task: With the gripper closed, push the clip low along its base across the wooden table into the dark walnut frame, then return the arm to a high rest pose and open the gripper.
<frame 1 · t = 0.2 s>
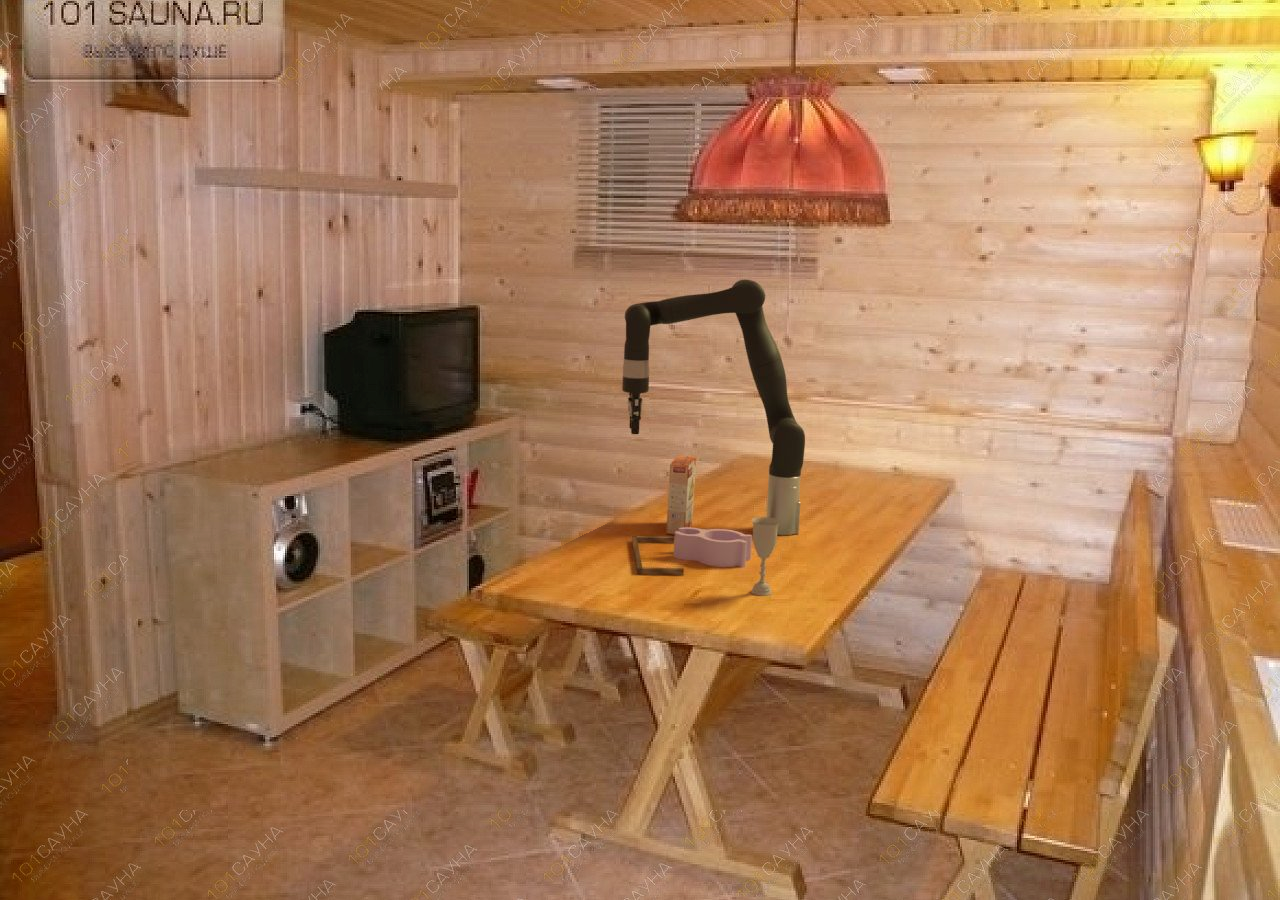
hand: (634, 431, 310), 29 cm above the table, tool pointing down, fingers open, 8 cm apart
chalice: (761, 592, 265), on the table
walnut frame: (682, 557, 290), on the table
cracker box: (679, 530, 318), on the table
clip: (711, 559, 291), on the table
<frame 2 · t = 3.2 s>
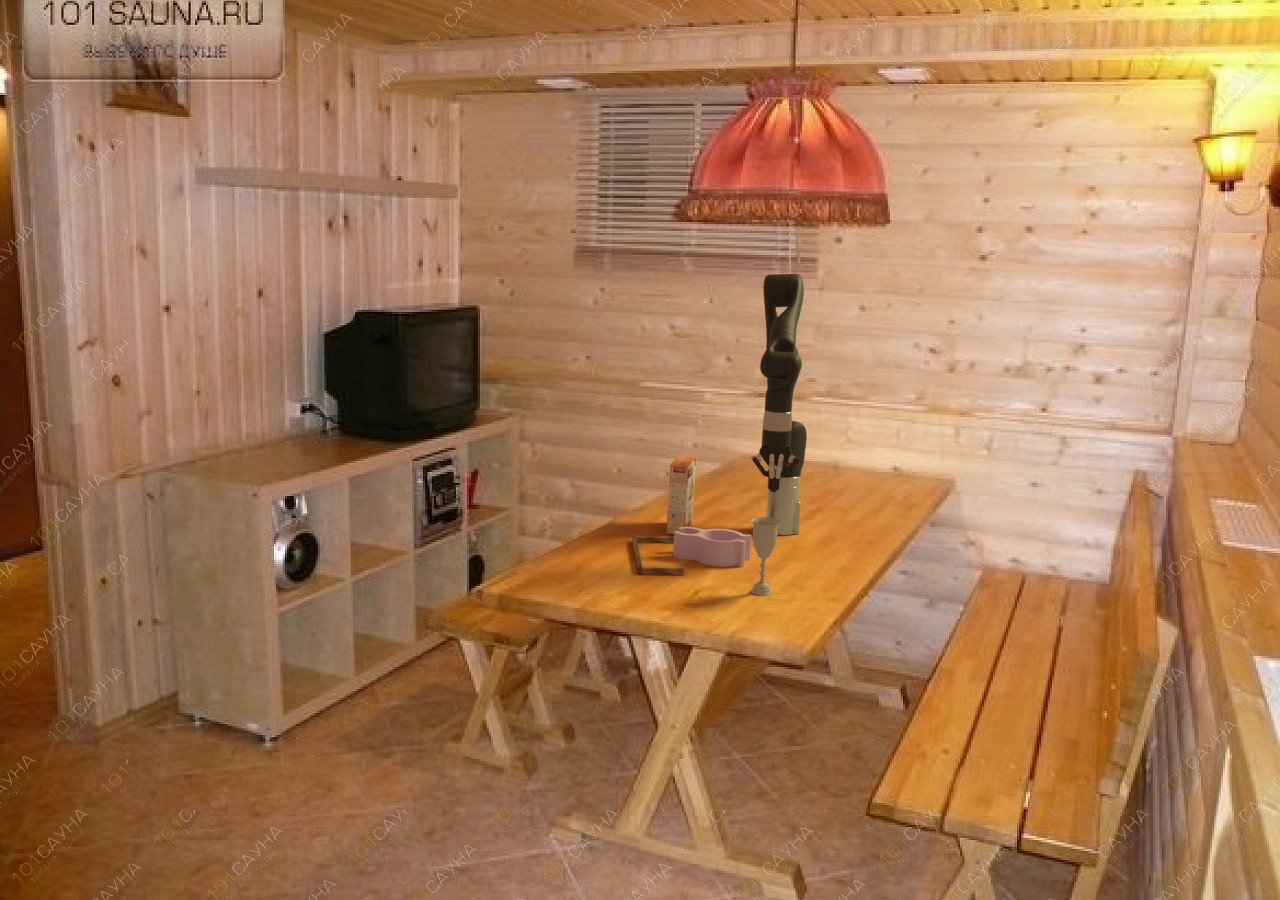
hand: (773, 491, 288), 19 cm above the table, tool pointing down, fingers closed
nothing on the table moved.
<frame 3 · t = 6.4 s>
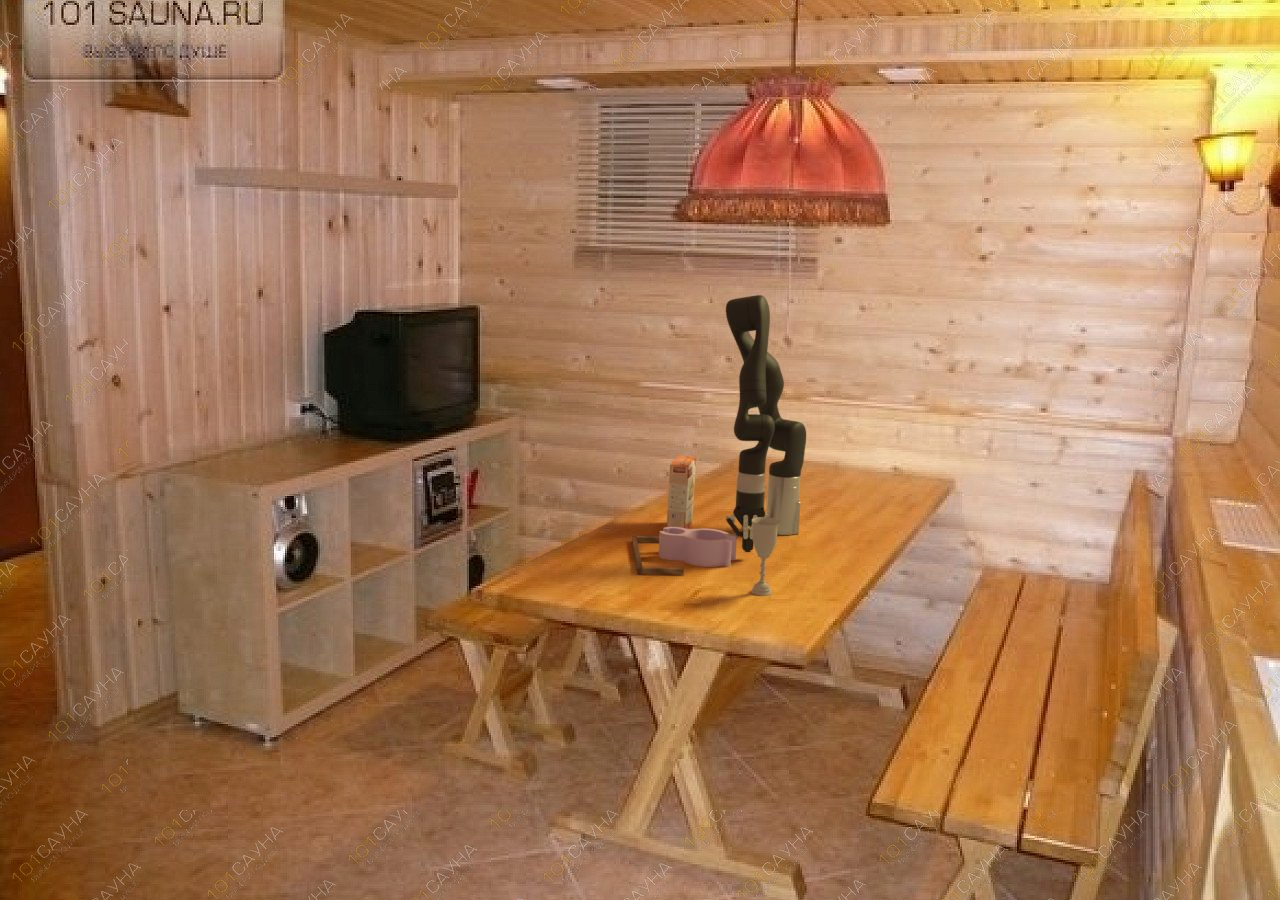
hand: (747, 551, 290), 2 cm above the table, tool pointing down, fingers closed
clip: (696, 559, 290), on the table, touching hand
everything else where it was.
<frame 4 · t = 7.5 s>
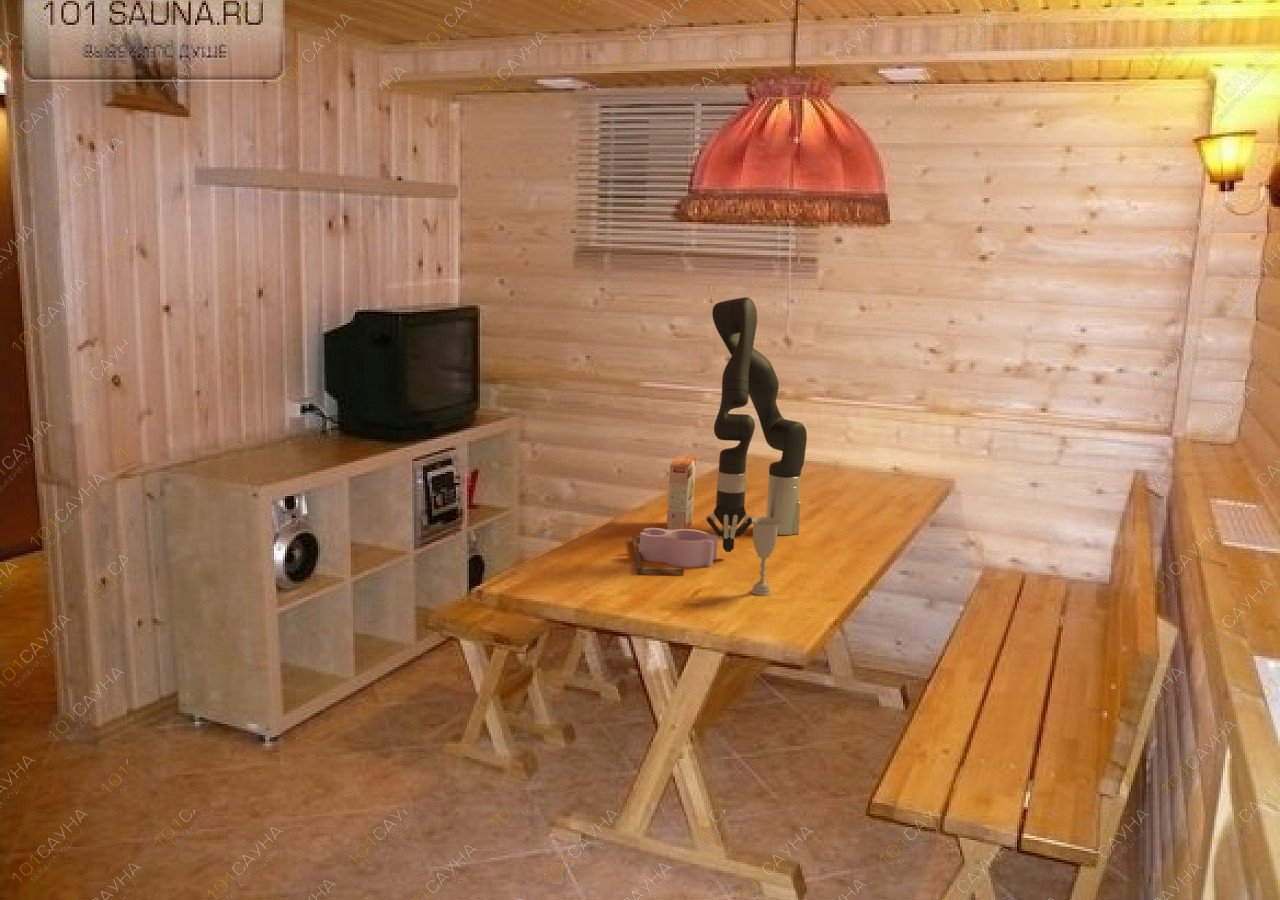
hand: (727, 551, 290), 2 cm above the table, tool pointing down, fingers closed
clip: (677, 560, 289), on the table, touching hand
everything else where it was.
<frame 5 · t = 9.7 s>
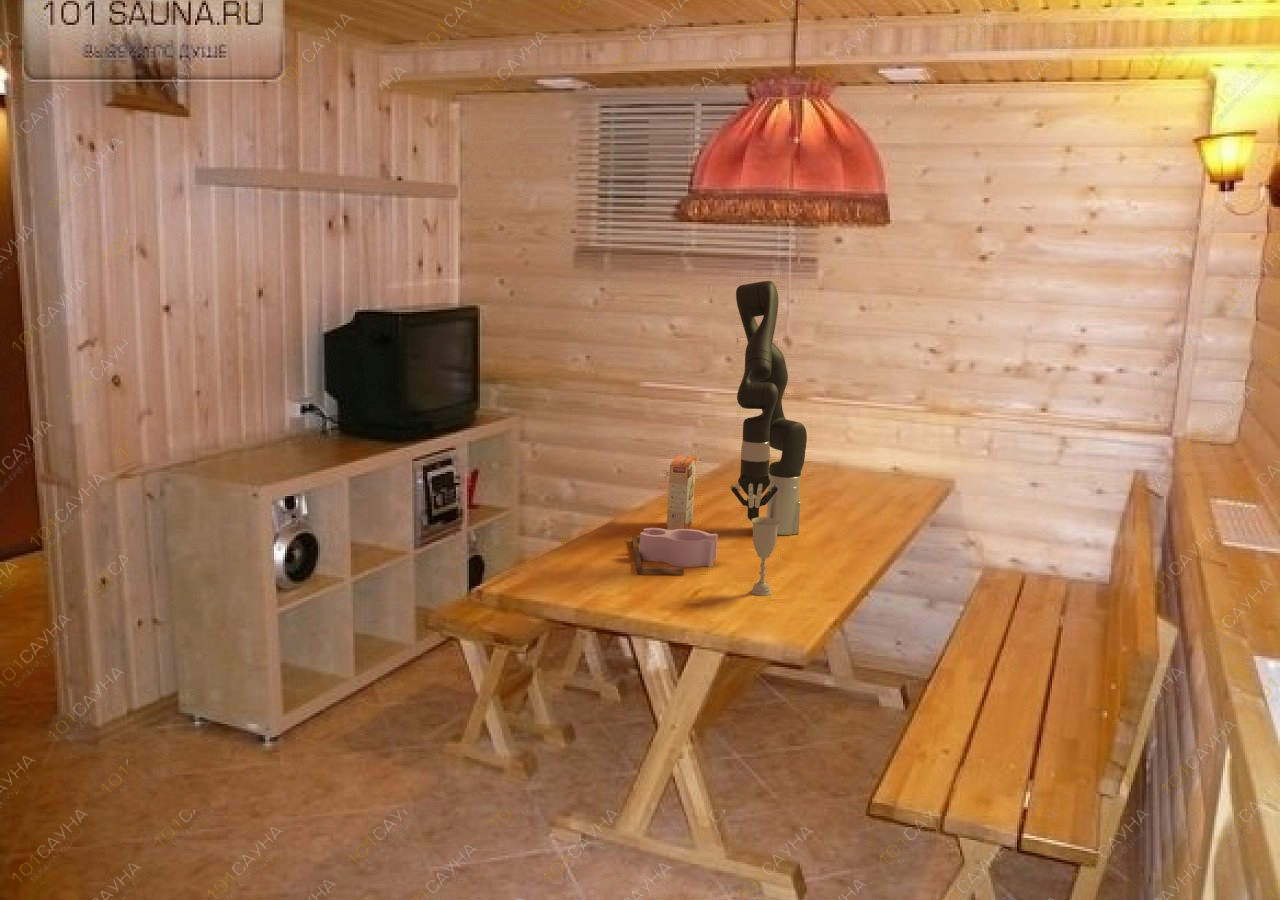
hand: (752, 520, 289), 11 cm above the table, tool pointing down, fingers closed
clip: (677, 560, 289), on the table
everything else where it was.
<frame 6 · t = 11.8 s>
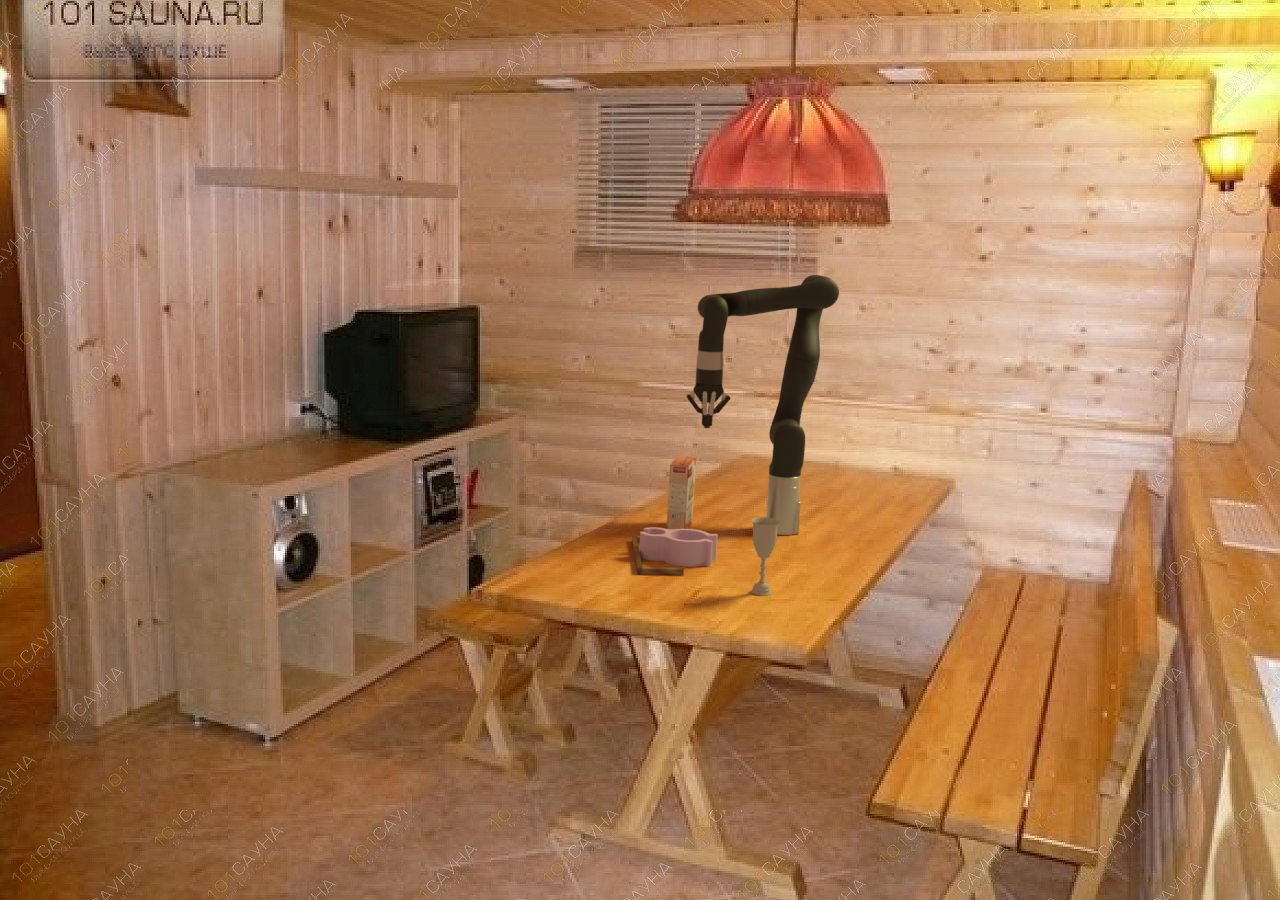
hand: (706, 427, 307), 31 cm above the table, tool pointing down, fingers closed
nothing on the table moved.
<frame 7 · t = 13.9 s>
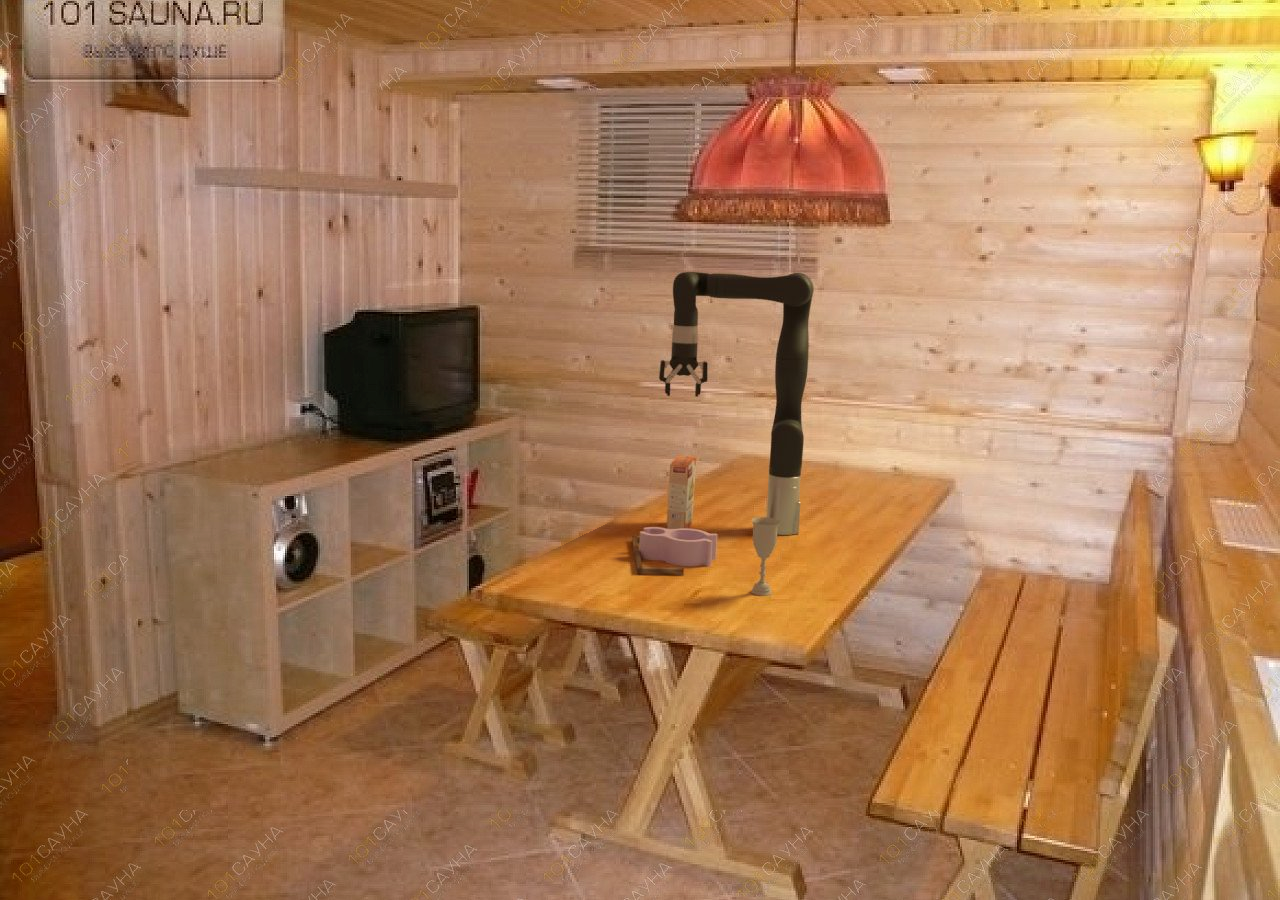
hand: (682, 395, 320), 38 cm above the table, tool pointing down, fingers open, 8 cm apart
nothing on the table moved.
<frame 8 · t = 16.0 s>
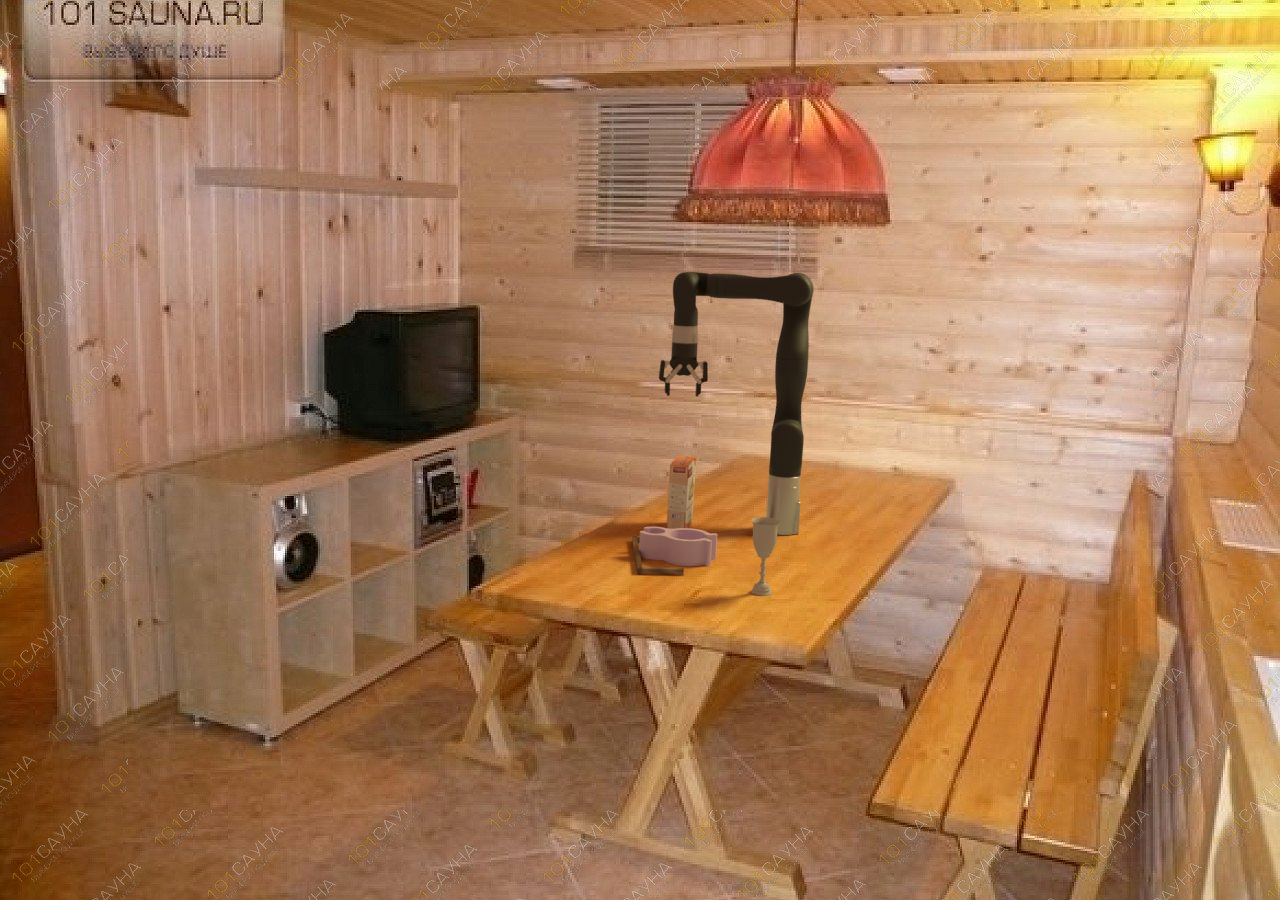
hand: (682, 395, 320), 38 cm above the table, tool pointing down, fingers open, 8 cm apart
at the end: clip inside the target area on the walnut frame (1.4 cm from its centre), point 0.0 cm above the walnut frame's base; clip tilted 0°; the gripper is holding nothing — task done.
